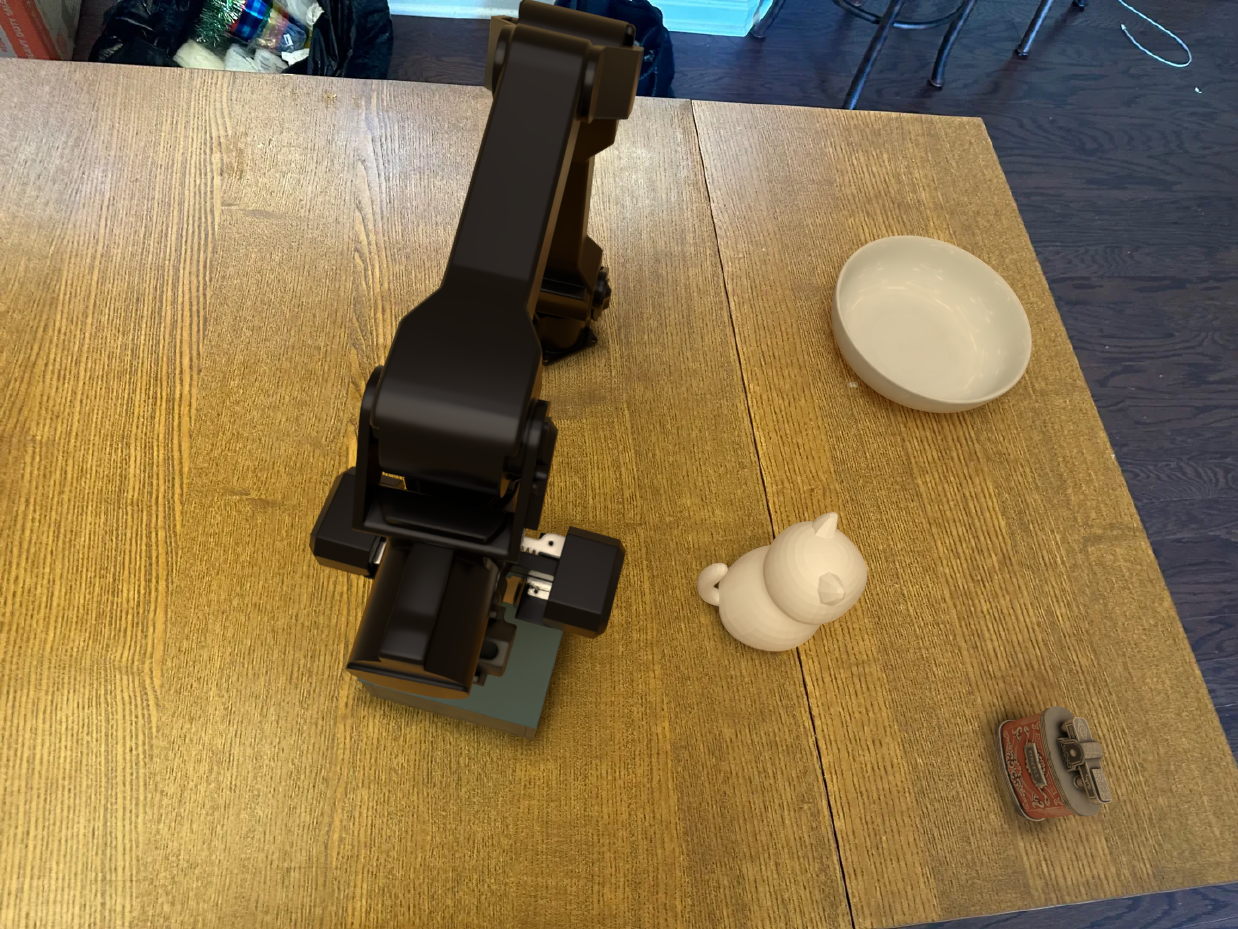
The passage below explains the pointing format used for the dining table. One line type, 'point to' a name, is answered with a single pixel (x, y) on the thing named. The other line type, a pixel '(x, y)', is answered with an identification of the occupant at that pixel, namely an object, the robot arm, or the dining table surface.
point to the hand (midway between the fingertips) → (475, 590)
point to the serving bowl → (929, 324)
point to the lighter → (1051, 765)
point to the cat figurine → (787, 585)
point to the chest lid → (514, 672)
